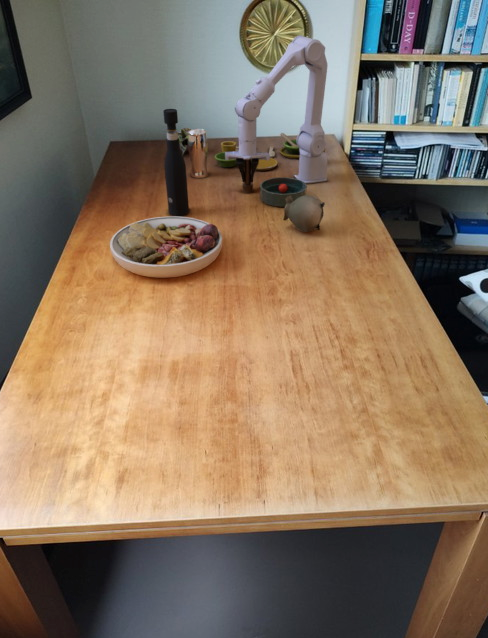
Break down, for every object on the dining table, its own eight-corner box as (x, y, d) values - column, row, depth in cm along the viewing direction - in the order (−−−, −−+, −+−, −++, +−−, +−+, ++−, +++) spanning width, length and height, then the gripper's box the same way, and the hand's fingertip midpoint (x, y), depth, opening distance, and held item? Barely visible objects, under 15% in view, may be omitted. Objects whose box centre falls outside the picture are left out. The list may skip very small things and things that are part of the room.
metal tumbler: (208, 178, 197) (206, 134, 187) (189, 178, 197) (185, 134, 187) (209, 171, 202) (207, 128, 192) (190, 171, 202) (188, 128, 192)
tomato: (285, 190, 186) (285, 181, 184) (288, 193, 184) (289, 184, 182) (277, 191, 186) (277, 182, 184) (280, 194, 183) (280, 186, 182)
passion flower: (190, 164, 224) (206, 139, 218) (182, 168, 214) (199, 142, 209) (168, 146, 222) (183, 120, 216) (159, 149, 213) (175, 122, 207)
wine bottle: (190, 208, 176) (183, 107, 157) (187, 216, 171) (179, 113, 152) (171, 207, 177) (161, 107, 158) (166, 216, 172) (156, 113, 153)
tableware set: (324, 149, 221) (325, 133, 217) (324, 174, 200) (325, 156, 196) (222, 146, 224) (222, 130, 220) (212, 170, 203) (211, 153, 199)
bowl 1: (118, 290, 137) (113, 262, 132) (108, 239, 159) (104, 213, 154) (234, 274, 143) (233, 246, 138) (209, 227, 165) (208, 201, 160)
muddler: (251, 188, 189) (251, 156, 182) (254, 192, 186) (254, 159, 179) (241, 189, 188) (240, 157, 181) (244, 193, 186) (243, 160, 179)
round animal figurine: (294, 219, 170) (296, 186, 163) (329, 227, 165) (333, 193, 158) (278, 231, 163) (279, 197, 156) (315, 240, 158) (318, 206, 152)
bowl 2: (295, 188, 189) (296, 175, 187) (312, 204, 178) (313, 191, 175) (253, 193, 186) (253, 180, 183) (268, 210, 175) (268, 196, 172)
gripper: (223, 142, 174) (225, 185, 182) (269, 143, 173) (268, 186, 182) (225, 136, 179) (227, 177, 188) (270, 136, 179) (269, 178, 187)
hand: (247, 181), depth 185 cm, fingers closed on muddler, 2 cm apart
